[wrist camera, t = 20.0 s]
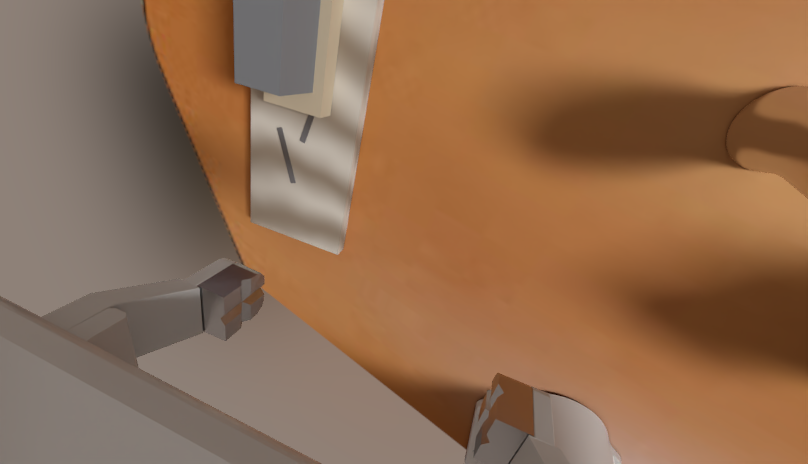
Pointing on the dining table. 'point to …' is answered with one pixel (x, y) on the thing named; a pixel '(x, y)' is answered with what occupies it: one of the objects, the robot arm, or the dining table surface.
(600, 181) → the dining table surface
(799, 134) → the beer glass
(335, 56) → the block
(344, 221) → the marked board
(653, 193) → the dining table surface
